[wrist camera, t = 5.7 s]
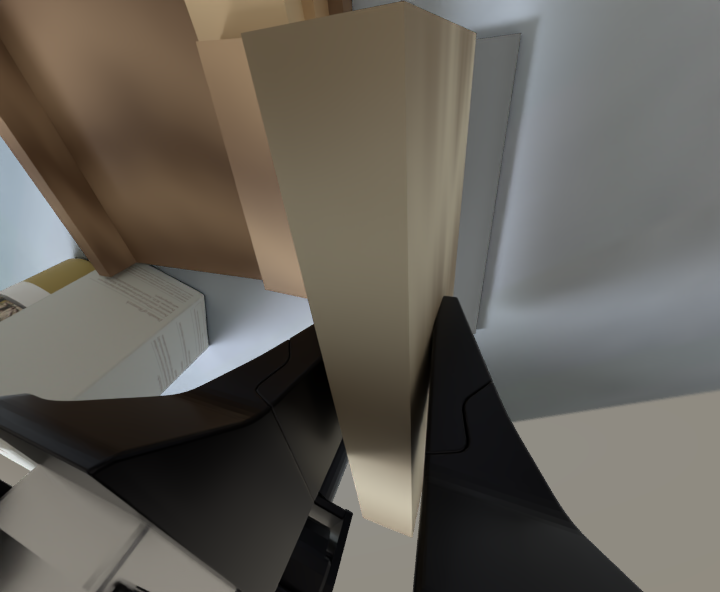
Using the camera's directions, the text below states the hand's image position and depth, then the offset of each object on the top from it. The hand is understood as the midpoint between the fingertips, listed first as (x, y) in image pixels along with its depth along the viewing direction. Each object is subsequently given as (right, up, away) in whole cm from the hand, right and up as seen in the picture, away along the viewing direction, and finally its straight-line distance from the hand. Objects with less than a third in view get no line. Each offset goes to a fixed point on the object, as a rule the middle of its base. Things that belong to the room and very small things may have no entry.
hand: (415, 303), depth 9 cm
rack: (-11, +8, +7) cm, 15 cm away
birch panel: (+1, +2, +2) cm, 3 cm away
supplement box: (-17, 0, +17) cm, 24 cm away
